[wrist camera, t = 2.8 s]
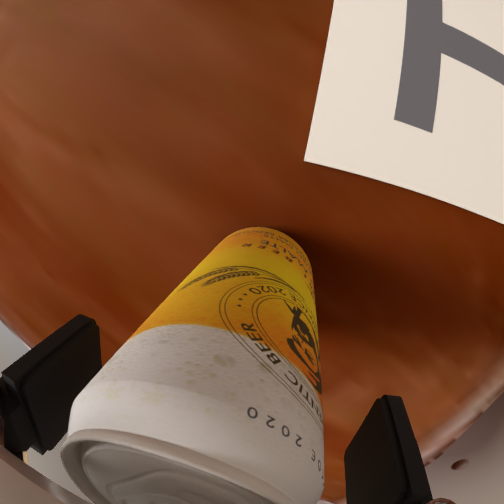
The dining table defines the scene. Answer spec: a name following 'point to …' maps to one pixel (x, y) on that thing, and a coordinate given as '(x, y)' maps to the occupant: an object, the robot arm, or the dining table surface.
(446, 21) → the letter board
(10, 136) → the dining table surface
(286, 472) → the beer can
